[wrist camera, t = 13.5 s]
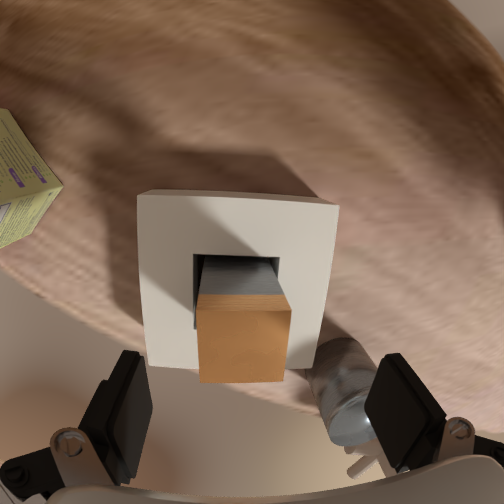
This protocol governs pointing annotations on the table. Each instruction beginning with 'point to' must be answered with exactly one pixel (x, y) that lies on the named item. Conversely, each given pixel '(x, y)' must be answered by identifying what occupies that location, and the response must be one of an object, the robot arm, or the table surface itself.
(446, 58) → the table surface
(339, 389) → the cylinder
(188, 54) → the table surface
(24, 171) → the box
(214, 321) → the square bit
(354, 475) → the pipe connector
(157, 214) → the holder block
